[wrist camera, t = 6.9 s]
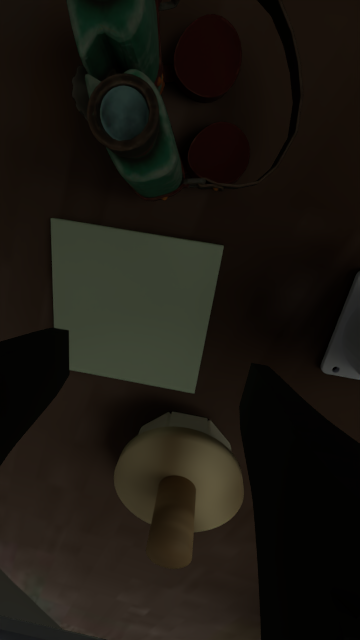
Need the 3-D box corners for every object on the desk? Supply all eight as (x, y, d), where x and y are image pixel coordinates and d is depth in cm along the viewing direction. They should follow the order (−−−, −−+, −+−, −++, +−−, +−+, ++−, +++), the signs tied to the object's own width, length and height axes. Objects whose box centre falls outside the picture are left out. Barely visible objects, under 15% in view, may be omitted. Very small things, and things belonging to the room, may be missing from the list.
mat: (223, 245, 19) (223, 246, 18) (194, 389, 23) (194, 393, 23) (55, 218, 19) (50, 218, 19) (58, 363, 24) (55, 367, 23)
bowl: (237, 424, 24) (240, 451, 21) (218, 490, 27) (219, 521, 24) (142, 405, 24) (133, 430, 22) (135, 472, 28) (126, 501, 25)
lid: (232, 421, 20) (240, 494, 15) (249, 516, 24) (259, 603, 18) (103, 431, 22) (68, 500, 17) (136, 519, 26) (115, 598, 20)
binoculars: (394, 141, 8) (63, 208, 9) (276, 184, 18) (127, 214, 18) (437, -438, 5) (-79, -259, 6) (266, 4, 15) (89, 47, 15)
